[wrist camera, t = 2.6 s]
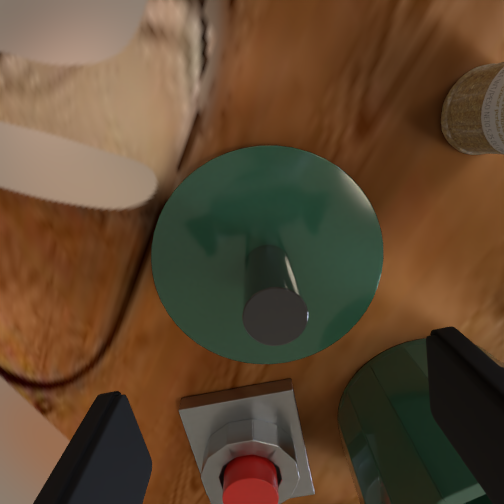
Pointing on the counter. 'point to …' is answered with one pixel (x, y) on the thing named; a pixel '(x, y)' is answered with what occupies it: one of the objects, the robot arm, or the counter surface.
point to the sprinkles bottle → (476, 111)
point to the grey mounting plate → (248, 435)
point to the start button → (250, 481)
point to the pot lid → (267, 254)
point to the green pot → (401, 435)
